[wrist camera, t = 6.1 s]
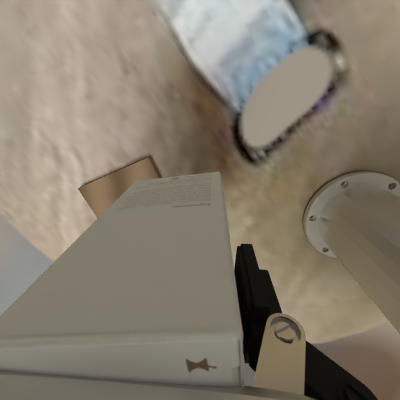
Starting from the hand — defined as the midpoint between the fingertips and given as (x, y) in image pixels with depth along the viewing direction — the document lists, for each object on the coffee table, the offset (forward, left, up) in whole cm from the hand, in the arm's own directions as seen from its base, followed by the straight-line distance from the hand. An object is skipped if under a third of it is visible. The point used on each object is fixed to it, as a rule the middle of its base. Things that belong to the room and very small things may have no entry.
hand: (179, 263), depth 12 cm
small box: (0, 0, -4) cm, 4 cm away
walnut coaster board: (+10, +4, -18) cm, 21 cm away
